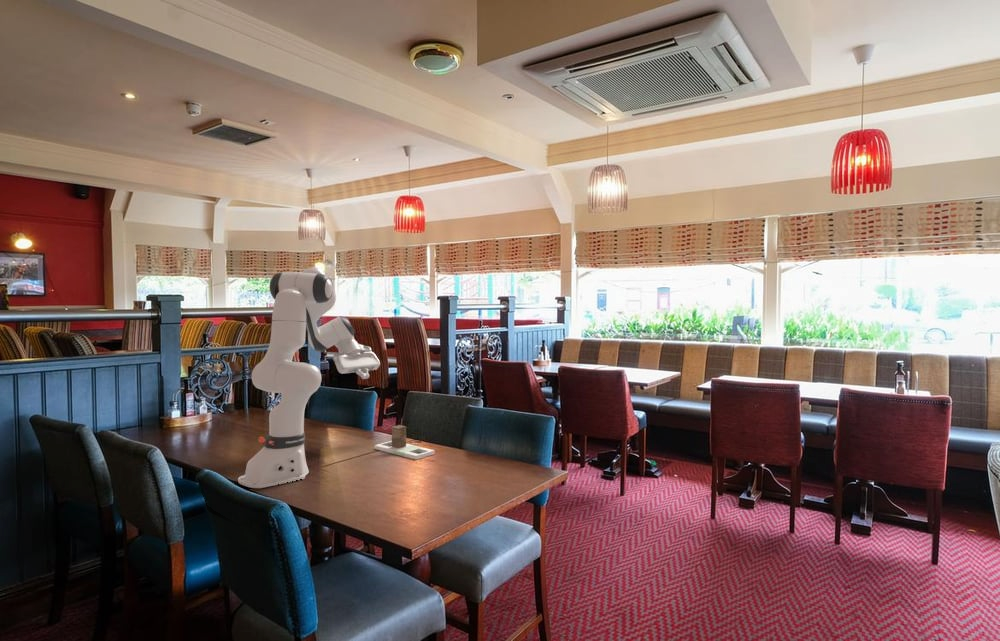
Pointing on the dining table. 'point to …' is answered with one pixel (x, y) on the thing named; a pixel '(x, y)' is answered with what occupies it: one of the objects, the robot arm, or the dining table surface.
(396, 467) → the dining table surface
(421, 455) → the board
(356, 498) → the dining table surface
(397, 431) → the walnut block
